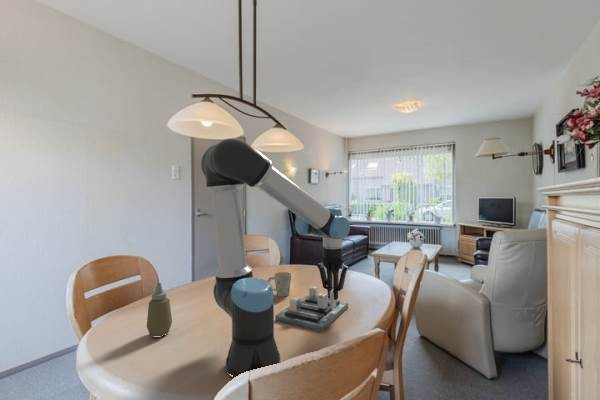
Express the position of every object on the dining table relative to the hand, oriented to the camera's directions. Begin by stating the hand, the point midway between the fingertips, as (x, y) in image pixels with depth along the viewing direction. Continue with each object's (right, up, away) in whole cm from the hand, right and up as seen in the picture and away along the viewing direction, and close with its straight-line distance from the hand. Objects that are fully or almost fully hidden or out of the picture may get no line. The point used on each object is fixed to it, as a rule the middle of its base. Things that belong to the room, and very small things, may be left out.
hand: (333, 307), depth 114 cm
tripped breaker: (-4, -1, +2) cm, 5 cm away
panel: (-7, -4, +4) cm, 10 cm away
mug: (-23, -4, +29) cm, 37 cm away
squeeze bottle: (-62, -5, -12) cm, 64 cm away
